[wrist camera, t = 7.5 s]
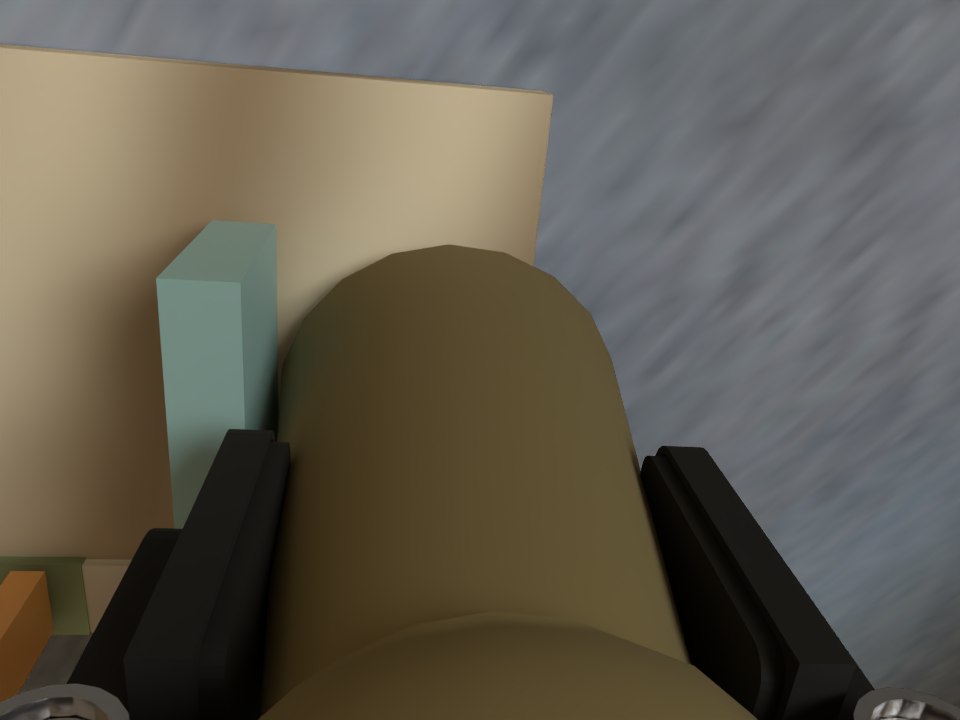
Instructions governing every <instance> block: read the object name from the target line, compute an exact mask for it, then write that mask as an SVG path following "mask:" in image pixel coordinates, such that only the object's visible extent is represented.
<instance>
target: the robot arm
mask: <svg viewBox="0 0 960 720" xmlns="http://www.w3.org/2000/svg"><path fill="white" fill-rule="evenodd" d="M290 463H291V460H290V444H289V442H275V434H274V431H272V430H247V429H229V430H228V431H227V433H226V435H225V437H224V439H223V441H222V444H221V446H220V448H219V450H218V452H217V455H216V457H215V459H214V461H213V463H212V465H211V468H210V470H209V472H208V474H207V476H206V479H205V481H204V483H203V485H202V487H201V489H200V492H199V494H198V496H197V498H196V500H195V503H194V505H193V507H192V509H191V511H190V514H189V516H188V518H187V520H186V522H185V524H184V527H183V529H173V528H153V529H151V530H149V531H148V532H147V534H146V535H145V537H144V538H143V540H142V542H141V544H140V545H139V547H138V549H137V551H136V553H135V555H134V557H133V559H132V561H131V563H130V564H129V566H128V568H127V570H126V572H125V574H124V576H123V578H122V580H121V582H120V583H119V585H118V587H117V589H116V591H115V593H114V595H113V597H112V599H111V601H110V603H109V604H108V606H107V608H106V610H105V612H104V614H103V616H102V618H101V620H100V622H99V623H98V625H97V627H96V629H95V631H94V633H93V635H92V637H91V639H90V641H89V642H88V644H87V646H86V648H85V650H84V652H83V654H82V656H81V658H80V660H79V661H78V663H77V665H76V667H75V669H74V671H73V673H72V675H71V677H70V679H69V680H68V682H67V684H60V685H49V686H45V687H41V688H37V689H33V690H30V691H26V692H22V693H20V694H18V695H15V696H13V697H11V698H9V699H7V700H5V701H2V702H0V720H258V719H259V718H260V706H261V690H262V674H263V659H264V646H265V633H266V619H267V606H268V592H269V582H270V576H271V570H272V565H273V559H274V554H275V548H276V542H277V537H278V531H279V525H280V520H281V514H282V508H283V503H284V497H285V492H286V486H287V480H288V475H289V469H290ZM640 477H641V480H642V483H643V487H644V490H645V493H646V496H647V499H648V503H649V506H650V509H651V513H652V517H653V521H654V524H655V528H656V532H657V536H658V540H659V544H660V547H661V551H662V555H663V559H664V563H665V567H666V570H667V574H668V578H669V582H670V586H671V589H672V593H673V597H674V601H675V605H676V609H677V612H678V616H679V620H680V624H681V628H682V632H683V635H684V639H685V643H686V647H687V651H688V655H689V658H690V662H691V665H693V666H695V667H696V668H697V669H699V670H700V671H701V672H702V673H703V674H705V675H706V676H707V677H708V678H709V679H711V680H712V681H713V682H714V683H715V684H716V685H718V686H719V687H720V688H721V689H722V690H724V691H725V692H726V693H727V694H728V695H730V696H731V697H732V698H733V699H734V700H736V701H737V702H738V703H739V704H740V705H742V706H743V707H744V708H745V709H746V710H747V711H749V712H750V713H751V714H752V715H753V716H755V717H756V718H757V719H758V720H960V708H958V707H956V706H954V705H952V704H950V703H948V702H946V701H944V700H941V699H939V698H937V697H935V696H933V695H929V694H926V693H922V692H919V691H915V690H912V689H904V688H891V687H887V688H882V689H877V690H875V689H874V688H873V687H872V685H871V684H870V682H869V681H868V679H867V678H866V677H865V675H864V674H863V672H862V671H861V669H860V668H859V667H858V665H857V664H856V662H855V661H854V659H853V658H852V657H851V655H850V654H849V652H848V651H847V650H846V648H845V647H844V645H843V644H842V642H841V641H840V640H839V638H838V637H837V635H836V634H835V632H834V631H833V630H832V628H831V627H830V625H829V624H828V622H827V621H826V620H825V618H824V617H823V615H822V614H821V613H820V611H819V610H818V608H817V607H816V605H815V604H814V603H813V601H812V600H811V598H810V597H809V595H808V594H807V593H806V591H805V590H804V588H803V587H802V586H801V584H800V583H799V581H798V580H797V578H796V577H795V576H794V574H793V573H792V571H791V570H790V568H789V567H788V566H787V564H786V563H785V561H784V560H783V558H782V557H781V556H780V554H779V553H778V552H777V550H776V549H775V547H774V546H773V544H772V543H771V542H770V540H769V539H768V537H767V536H766V535H765V533H764V532H763V530H762V529H761V527H760V526H759V525H758V523H757V522H756V520H755V519H754V517H753V516H752V515H751V513H750V512H749V510H748V509H747V507H746V506H745V505H744V503H743V502H742V500H741V499H740V497H739V496H738V495H737V493H736V492H735V490H734V489H733V488H732V486H731V485H730V483H729V482H728V480H727V479H726V478H725V476H724V475H723V473H722V472H721V470H720V469H719V468H718V466H717V465H716V463H715V462H714V460H713V459H712V458H711V456H710V455H709V453H708V452H707V451H706V450H705V449H704V448H700V447H676V446H661V447H660V448H659V449H658V451H657V453H656V456H647V457H645V459H644V461H643V464H642V468H641V474H640Z"/></svg>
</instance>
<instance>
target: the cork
mask: <svg viewBox="0 0 960 720" xmlns="http://www.w3.org/2000/svg"><path fill="white" fill-rule="evenodd" d="M277 442H289V444H290V460H291V463H290V469H289V475H288V480H287V486H286V492H285V497H284V503H283V508H282V514H281V520H280V525H279V531H278V537H277V542H276V548H275V554H274V559H273V565H272V570H271V576H270V582H269V592H268V606H267V619H266V633H265V646H264V659H263V674H262V690H261V706H260V718H259V719H258V720H758V719H757V718H756V717H755V716H753V715H752V714H751V713H750V712H749V711H747V710H746V709H745V708H744V707H743V706H742V705H740V704H739V703H738V702H737V701H736V700H734V699H733V698H732V697H731V696H730V695H728V694H727V693H726V692H725V691H724V690H722V689H721V688H720V687H719V686H718V685H716V684H715V683H714V682H713V681H712V680H711V679H709V678H708V677H707V676H706V675H705V674H703V673H702V672H701V671H700V670H699V669H697V668H696V667H695V666H693V665H691V662H690V658H689V655H688V651H687V647H686V643H685V639H684V635H683V632H682V628H681V624H680V620H679V616H678V612H677V609H676V605H675V601H674V597H673V593H672V589H671V586H670V582H669V578H668V574H667V570H666V567H665V563H664V559H663V555H662V551H661V547H660V544H659V540H658V536H657V532H656V528H655V524H654V521H653V517H652V513H651V509H650V506H649V503H648V499H647V496H646V493H645V490H644V487H643V483H642V480H641V477H640V474H641V471H640V467H639V463H638V459H637V456H636V452H635V448H634V444H633V440H632V436H631V433H630V429H629V425H628V421H627V417H626V413H625V410H624V406H623V402H622V398H621V394H620V390H619V387H618V383H617V379H616V375H615V371H614V367H613V364H612V360H611V357H610V355H609V353H608V350H607V348H606V346H605V344H604V342H603V340H602V338H601V335H600V333H599V331H598V329H597V327H596V325H595V322H594V320H593V318H592V316H591V314H590V313H589V312H588V311H587V310H586V309H585V308H584V307H583V306H582V305H581V304H580V303H579V302H578V301H577V300H576V299H575V298H574V296H573V295H572V294H571V293H570V292H569V291H568V290H567V289H566V288H565V287H564V286H563V285H562V284H561V283H560V282H559V281H558V280H557V279H556V278H555V277H553V276H551V275H549V274H547V273H545V272H543V271H541V270H539V269H537V268H535V267H533V266H531V265H529V264H527V263H525V262H523V261H521V260H519V259H517V258H515V257H513V256H511V255H509V254H507V253H505V252H498V251H491V250H485V249H478V248H471V247H464V246H457V245H450V244H448V245H442V246H435V247H429V248H423V249H417V250H411V251H405V252H399V253H393V254H390V255H388V256H387V257H385V258H383V259H381V260H379V261H377V262H375V263H373V264H371V265H369V266H367V267H365V268H363V269H361V270H359V271H357V272H355V273H353V274H351V275H349V276H348V277H346V278H344V279H342V280H341V281H340V282H339V283H338V284H337V285H336V286H335V287H334V288H333V289H332V290H331V291H330V292H329V293H328V294H327V295H326V296H325V297H324V298H323V299H322V300H321V301H320V302H319V303H318V304H317V305H316V306H315V307H314V308H313V309H312V310H311V312H310V313H309V314H308V315H307V316H306V317H305V318H304V319H303V321H302V324H301V326H300V328H299V330H298V332H297V334H296V337H295V339H294V341H293V343H292V345H291V347H290V350H289V352H288V354H287V356H286V358H285V360H284V363H283V365H282V377H281V390H280V402H279V415H278V431H277Z"/></svg>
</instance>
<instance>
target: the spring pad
mask: <svg viewBox="0 0 960 720" xmlns="http://www.w3.org/2000/svg"><path fill="white" fill-rule="evenodd" d="M156 285H157V299H158V312H159V326H160V339H161V353H162V366H163V379H164V393H165V406H166V420H167V433H168V447H169V460H170V474H171V487H172V500H173V514H174V527H175V529H183V527H184V524H185V522H186V520H187V518H188V516H189V514H190V511H191V509H192V507H193V505H194V503H195V500H196V498H197V496H198V494H199V492H200V489H201V487H202V485H203V483H204V481H205V479H206V476H207V474H208V472H209V470H210V468H211V465H212V463H213V461H214V459H215V457H216V455H217V452H218V450H219V448H220V446H221V444H222V441H223V439H224V437H225V435H226V433H227V431H228V430H229V429H247V430H272V431H274V434H275V442H277V431H278V415H279V392H278V315H277V238H276V224H266V223H250V222H234V221H217V220H212V221H211V222H210V223H209V224H208V225H207V226H206V227H205V228H204V229H203V230H202V231H201V232H200V233H199V234H198V235H197V236H196V237H195V239H194V240H193V241H192V242H191V243H190V244H189V245H188V246H187V247H186V248H185V249H184V250H183V251H182V252H181V253H180V254H179V255H178V256H177V257H176V258H175V259H174V260H173V261H172V262H171V263H170V264H169V265H168V266H167V268H166V269H165V270H164V271H163V272H162V273H161V274H160V275H159V276H158V277H157V278H156Z"/></svg>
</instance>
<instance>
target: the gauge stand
mask: <svg viewBox="0 0 960 720" xmlns="http://www.w3.org/2000/svg"><path fill="white" fill-rule="evenodd" d="M552 102H553V95H552V94H549V93H547V92H544V91H538V90H527V89H515V88H503V87H492V86H480V85H469V84H457V83H445V82H434V81H422V80H411V79H399V78H387V77H376V76H364V75H353V74H341V73H329V72H318V71H306V70H295V69H283V68H271V67H260V66H248V65H237V64H225V63H213V62H202V61H190V60H179V59H167V58H155V57H144V56H132V55H121V54H109V53H97V52H86V51H74V50H63V49H51V48H39V47H28V46H16V45H5V44H0V585H1V584H2V582H3V581H4V580H5V578H6V577H7V575H8V574H9V573H10V571H45V575H46V581H47V588H48V594H49V601H50V607H51V614H52V620H53V627H54V631H53V633H52V635H90V634H91V633H94V631H95V629H96V627H97V625H98V623H99V622H100V620H101V618H102V616H103V614H104V612H105V610H106V608H107V606H108V604H109V603H110V601H111V599H112V597H113V595H114V593H115V591H116V589H117V587H118V585H119V583H120V582H121V580H122V578H123V576H124V574H125V572H126V570H127V568H128V566H129V564H130V563H131V561H132V559H133V557H134V555H135V553H136V551H137V549H138V547H139V545H140V544H141V542H142V540H143V538H144V537H145V535H146V534H147V532H148V531H149V530H151V529H153V528H173V529H175V527H174V514H173V500H172V487H171V474H170V460H169V447H168V433H167V420H166V406H165V393H164V379H163V366H162V353H161V339H160V326H159V312H158V299H157V285H156V278H157V277H158V276H159V275H160V274H161V273H162V272H163V271H164V270H165V269H166V268H167V266H168V265H169V264H170V263H171V262H172V261H173V260H174V259H175V258H176V257H177V256H178V255H179V254H180V253H181V252H182V251H183V250H184V249H185V248H186V247H187V246H188V245H189V244H190V243H191V242H192V241H193V240H194V239H195V237H196V236H197V235H198V234H199V233H200V232H201V231H202V230H203V229H204V228H205V227H206V226H207V225H208V224H209V223H210V222H211V221H212V220H217V221H234V222H250V223H266V224H276V238H277V315H278V392H279V402H280V390H281V377H282V365H283V363H284V360H285V358H286V356H287V354H288V352H289V350H290V347H291V345H292V343H293V341H294V339H295V337H296V334H297V332H298V330H299V328H300V326H301V324H302V321H303V319H304V318H305V317H306V316H307V315H308V314H309V313H310V312H311V310H312V309H313V308H314V307H315V306H316V305H317V304H318V303H319V302H320V301H321V300H322V299H323V298H324V297H325V296H326V295H327V294H328V293H329V292H330V291H331V290H332V289H333V288H334V287H335V286H336V285H337V284H338V283H339V282H340V281H341V280H342V279H344V278H346V277H348V276H349V275H351V274H353V273H355V272H357V271H359V270H361V269H363V268H365V267H367V266H369V265H371V264H373V263H375V262H377V261H379V260H381V259H383V258H385V257H387V256H388V255H390V254H393V253H399V252H405V251H411V250H417V249H423V248H429V247H435V246H442V245H448V244H450V245H457V246H464V247H471V248H478V249H485V250H491V251H498V252H505V253H507V254H509V255H511V256H513V257H515V258H517V259H519V260H521V261H523V262H525V263H527V264H529V265H531V266H534V257H535V248H536V240H537V231H538V223H539V214H540V205H541V197H542V188H543V180H544V171H545V162H546V154H547V145H548V137H549V128H550V119H551V111H552Z"/></svg>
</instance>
